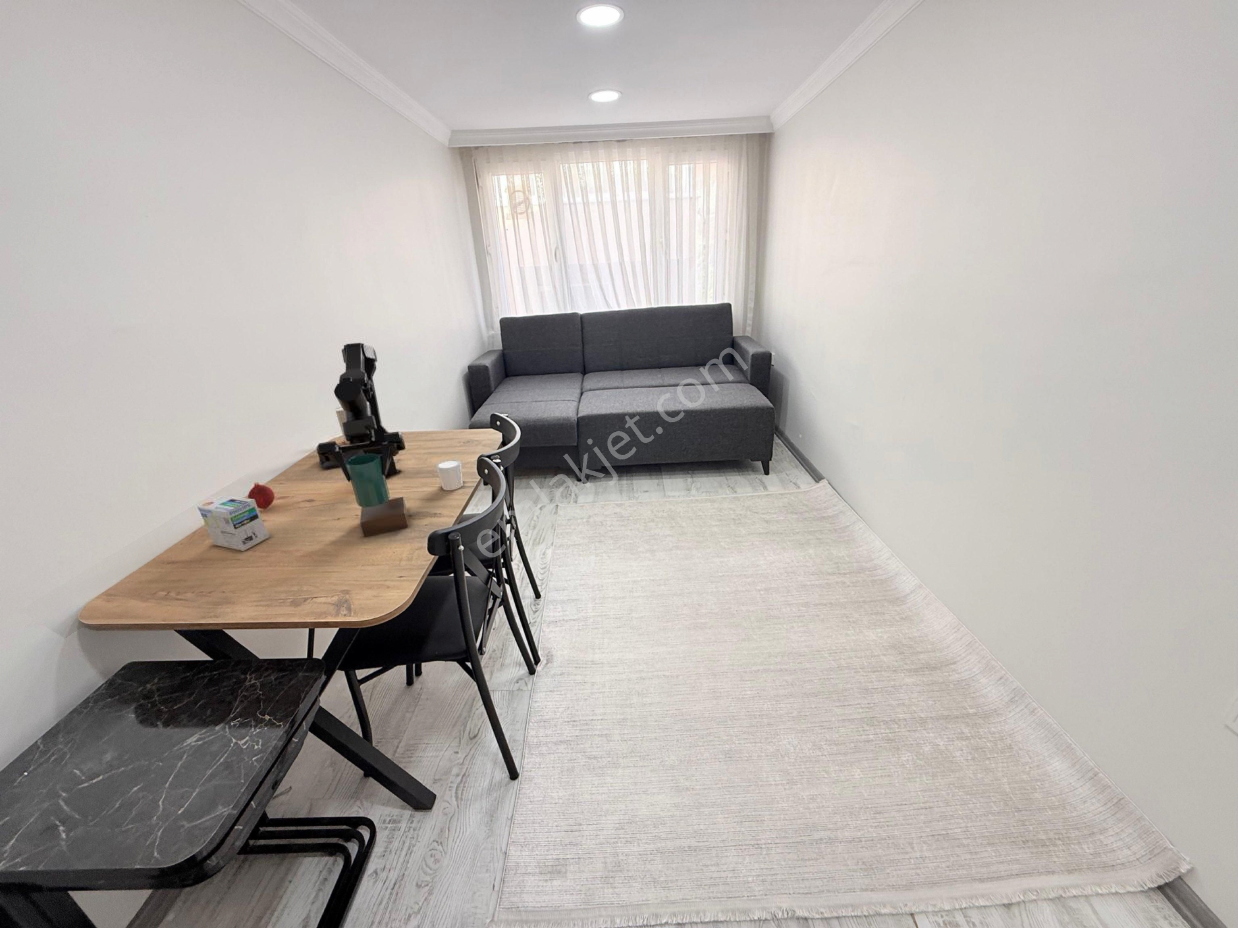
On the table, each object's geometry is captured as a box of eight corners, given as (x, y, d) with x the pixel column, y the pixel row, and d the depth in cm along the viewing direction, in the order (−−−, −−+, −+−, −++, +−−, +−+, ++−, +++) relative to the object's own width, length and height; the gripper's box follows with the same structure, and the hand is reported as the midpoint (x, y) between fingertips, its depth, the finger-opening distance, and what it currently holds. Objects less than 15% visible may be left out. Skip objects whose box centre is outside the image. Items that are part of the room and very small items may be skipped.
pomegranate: (282, 505, 137) (273, 479, 133) (261, 515, 132) (251, 488, 129) (269, 502, 139) (260, 476, 136) (248, 511, 134) (238, 485, 131)
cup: (350, 506, 120) (338, 464, 115) (371, 492, 126) (360, 452, 122) (376, 508, 118) (365, 466, 114) (396, 494, 125) (386, 454, 120)
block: (365, 518, 128) (361, 505, 126) (406, 509, 131) (403, 496, 130) (364, 537, 119) (359, 522, 118) (408, 527, 123) (404, 513, 121)
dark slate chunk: (390, 459, 165) (387, 446, 163) (317, 471, 158) (313, 457, 156) (393, 444, 178) (390, 432, 176) (326, 454, 172) (322, 442, 170)
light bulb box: (270, 537, 121) (255, 498, 117) (243, 552, 115) (227, 511, 111) (240, 531, 124) (224, 493, 120) (212, 545, 119) (195, 505, 114)
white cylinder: (468, 480, 147) (464, 459, 144) (459, 491, 140) (455, 469, 138) (446, 480, 147) (441, 459, 145) (436, 491, 141) (431, 468, 138)
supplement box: (368, 436, 188) (359, 403, 182) (369, 439, 184) (361, 406, 179) (344, 441, 184) (334, 407, 179) (345, 444, 180) (335, 410, 175)
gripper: (306, 411, 113) (311, 472, 108) (393, 400, 119) (402, 458, 114) (321, 432, 123) (327, 490, 118) (401, 421, 129) (410, 475, 124)
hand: (366, 478), depth 118 cm, fingers closed on cup, 7 cm apart
